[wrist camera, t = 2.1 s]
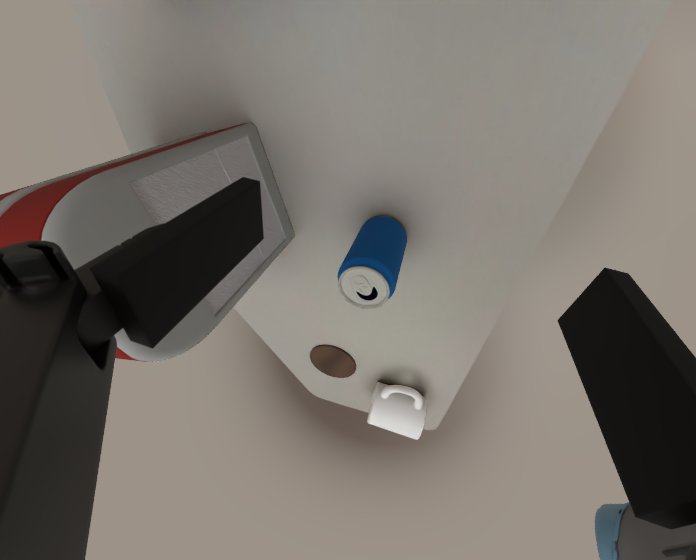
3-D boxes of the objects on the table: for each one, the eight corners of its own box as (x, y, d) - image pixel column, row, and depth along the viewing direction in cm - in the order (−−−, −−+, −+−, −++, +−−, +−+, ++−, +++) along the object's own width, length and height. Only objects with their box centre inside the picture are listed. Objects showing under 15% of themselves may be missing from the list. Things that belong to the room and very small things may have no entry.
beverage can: (373, 260, 43) (352, 316, 34) (352, 223, 40) (323, 273, 31) (415, 247, 40) (403, 305, 30) (395, 206, 37) (376, 255, 28)
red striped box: (152, 145, 42) (-140, 234, 21) (253, 119, 35) (-22, 209, 15) (208, 246, 51) (42, 376, 30) (296, 239, 44) (162, 397, 24)
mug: (417, 408, 63) (414, 446, 56) (373, 394, 64) (364, 429, 58) (434, 378, 55) (432, 418, 49) (383, 362, 56) (374, 399, 50)
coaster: (359, 354, 57) (358, 356, 57) (352, 381, 63) (351, 383, 63) (311, 339, 58) (311, 340, 58) (309, 367, 65) (308, 368, 64)
